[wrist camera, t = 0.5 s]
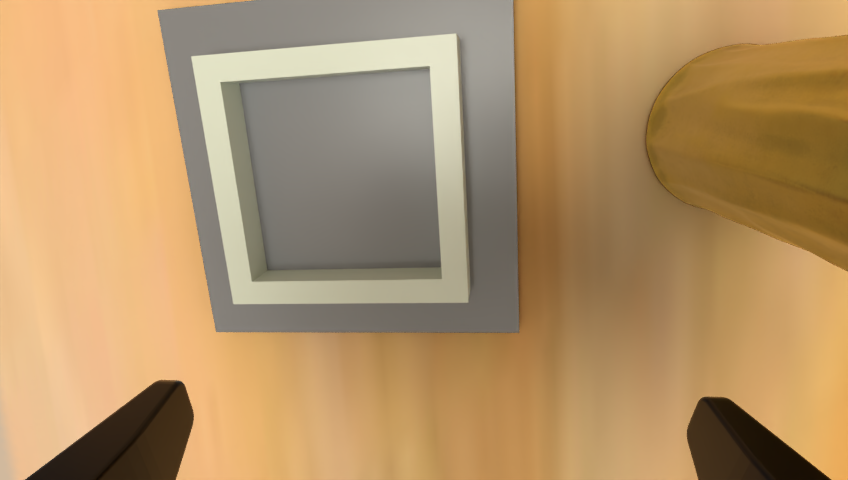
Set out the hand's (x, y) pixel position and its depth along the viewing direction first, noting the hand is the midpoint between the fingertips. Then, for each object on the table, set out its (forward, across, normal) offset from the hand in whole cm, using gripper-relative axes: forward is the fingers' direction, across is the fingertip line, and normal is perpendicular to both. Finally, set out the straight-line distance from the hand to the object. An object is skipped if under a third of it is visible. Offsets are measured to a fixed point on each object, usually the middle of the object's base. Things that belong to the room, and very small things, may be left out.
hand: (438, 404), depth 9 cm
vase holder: (+14, +4, +2) cm, 15 cm away
